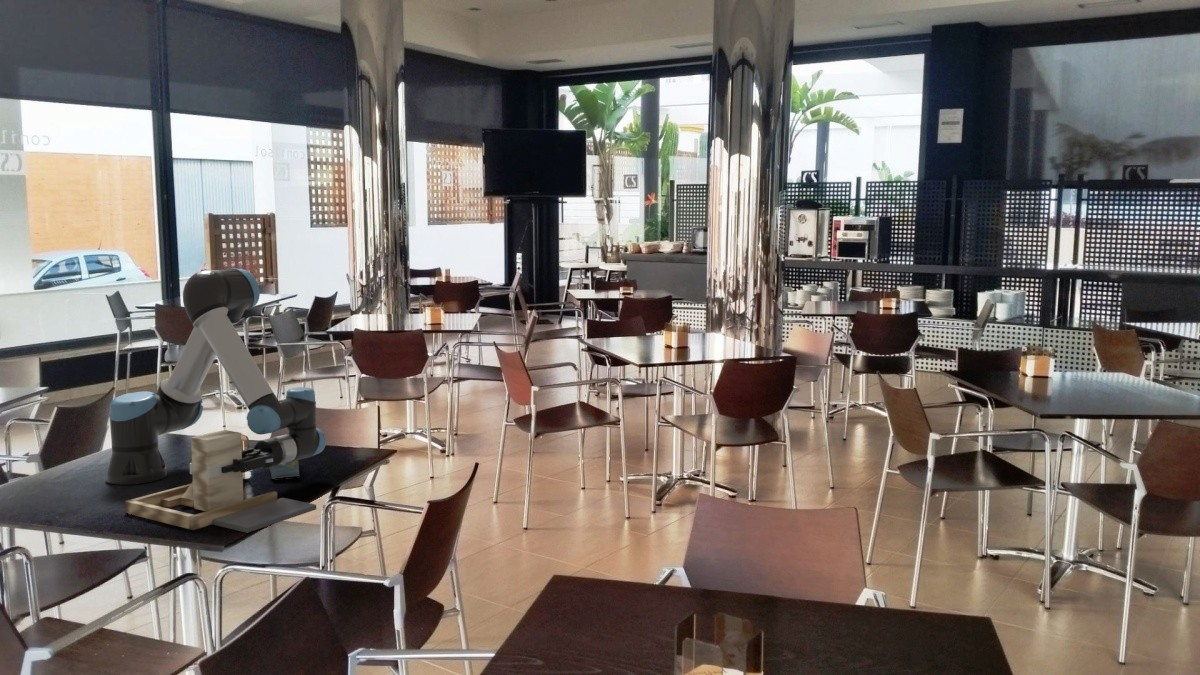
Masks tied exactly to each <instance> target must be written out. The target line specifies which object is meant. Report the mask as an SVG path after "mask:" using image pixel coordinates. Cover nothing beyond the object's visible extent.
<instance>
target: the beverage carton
mask: <svg viewBox="0 0 1200 675" xmlns="http://www.w3.org/2000/svg"><path fill="white" fill-rule="evenodd" d="M299 461H300V459H299V460H295V461H291V462H287V463H285V465H282V464H280V465H277V466H273V467H270V468H269V472H270V475H271V476H270V477H271V479H275V478H283V477H293V476H299V477H300V462H299ZM275 480H276V479H275Z"/></svg>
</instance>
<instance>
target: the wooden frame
mask: <svg viewBox="0 0 1200 675" xmlns="http://www.w3.org/2000/svg"><path fill="white" fill-rule="evenodd" d="M190 485H191V483H188V484H184V485H180V486H177V487H174V488H170V489H165V490H163V491H158V492H155V493H151V494H147V495H143V496H139V497H136V498H132V499H128V500H124V508H125V514H127V513H128V515H131V514H132V515H133V516H136V517H139V518H143V519H144V518H145V519H147V520H152V521H154V522H155V521H156V522H161V523H163V524H167V525H171V526H177V527H179V528H180V527H181V528H184V529H187V530H192V531H195V530H199V529H202V528H205V527H207V526H211V525H213V519H216V518H219V517H222V516H225V515H229V514H232V513H235V512H238V511H241V510H245V509H248V508H251V507H254V506H257V505H261V504H264V503H267V502H270V501H274V500H277V499H278V491H275V490H273V491H270V492H265V493H263V494H259V495H256V496H251V497H250V498H246V499H243V500H242V501H239V502H235V503H232V504H229V505H226V506H222V507H219V508H216V509H212V510H209V511H202V512H200V513H195V514H193V513H188V512H183V511H179V510H175V509H171V508H169V507H164V506H161V505H160V499H161V498H165V497H169V496H172V495H176V494H180V493H183V492H186V490H187V489H188V488H189V486H190Z"/></svg>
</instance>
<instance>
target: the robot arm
mask: <svg viewBox="0 0 1200 675" xmlns="http://www.w3.org/2000/svg"><path fill="white" fill-rule="evenodd" d="M260 296H261V290H260V286H259V283H258V280H257V278H256V277H255V275H254V274H252V273H251V272H250V271H248V270H246V269H244V268H234V267H231V268H227V269H205V270H200V271H198V272H195V273H194V274H192V275H191V276H190V277H189V278H188V279H187V281H186V283H185V284H184V287H183V290H182V302H183V307H184V310H185V313H186V315H187V317H188V319H189V320H190V323H191V325H192V326H193V329H192V330H191V333H190V334H189V337H188V339H187V341H186V344H185V345H184V347H183V350H182V351H181V353H180V356H179V358H178V359H177V362H176V364H175V366H174V368H173V370H172V372H171V374H170V377H168V378H165V379H163V380H162V381H161V382H160V384H159V386H158V388H157V390H156V392H155V393H154V392H151V391H149V390H148V391H146V390H143V391H134V392H129V393H128V392H127V393H125V394H122V395H119V396H116V397H115V398H113V399H112V400H111V402H110V404H109V415H108V418H109V426H110V427H109V428H110V439H111V440H110V441H111V456H110V459H109V462H108V466H107V470H106V472H105V475H106V476H105V477H106V482H107V483H108V484H113V485H119V486H121V485H123V486H125V485H126V486H127V485H141V484H147V483H151V482H152V483H153V482H155V481H159V480H161V479H163V478H165V477H167V475H168V474H167V473H168V472H167V465H166V462H165V461H164V459H163V458H164V457H163V456H162V453H161V452H160V448H159V436H161V435H165V434H168V433H173V432H178V431H181V430H185V429H187V428H189V427H191V426H193V425H194V424H196V423H197V422H198V421H199V420H200V418H201V417H202V414H203V411H204V405H202V404H203V399H202V396H203V394H202V393H201V392H202V391H201V390H200V389H201V387H202V384H203V383H204V381H205V379H206V377H207V375H208V373H209V371H210V369H211V367H212V365H213V363H214V361H215V359H216V358H217V359H218V362H220V364H221V366H222V367H223V369H224V371H225V372H226V375H227V376H228V377H229V379H230V380H231V382H232V384H233V386H234V388H235V389H236V390H237V393H239V396H240V397H241V400H242V401H243V402H244V403H245V406H246V407H247V409H248V410H249V411H248V412H247V415H246V420H247V424H246V425H247V427H248V428H249V430H250V431H251V432H252V433H253V434H256V435H267V434H268V435H269V434H273V433H275V432H277V431H280V430H283V429H286V428H287V433H286V434H282V435H277V436H273V437H270V438H266V439H261V440H259V441H258V442H257V443H256V444H255V446H254V448H253V447H251V448H246V449H243V450H242V459H240V460H238V459H233V464H232V462H230V461H229V462H225V463H222V464H218V465H214V466H210V467H208V478H213V477H217V476H220V475H224V474H228V473H232V471H233V472H238V471H240V472H241V473H242V474H244V473H248V472H250V471H253V470H257V469H260V468H263V469H270V467H273V466H277V465H280V464H282V465H285V463H287V462H291V461H295V460H299V461H300V460H303V459H307V458H311V457H314V456H316V455H318V454H320V453H322V452H323V451H324V449H326V448H325V447H326V443H327V440H326V437H325V436H324V435H325V433H324V432H323V431H322V429H320V428H319V427H317V412H316V411H317V401H316V392H315V390H314V389H313V388H311V387H305V386H302V387H301V386H300V387H299V386H298V387H297V386H296V387H292V388H288V390H287V391H286V395H285V398H284V399H281V400H279V399H278V396H276V394H275V392H274V391H273V389H272V388H271V385H269V383H268V381H267V380H266V378H265V376H264V374H263V373H262V371H261V369H260V368H259V366H258V364H257V362H256V361H255V359H254V357H253V356H252V354H251V353H250V351H249V350H248V348H247V346H246V344H245V343H244V341H243V339H242V338H241V336H240V335H239V333H238V331H237V330H236V328H235V326H234V325H236V324H239V323H240V321H241V319H242V317H243V315H244V312H245V311H246V310H247V311H248V310H251V309H252V308H254V307H255V306H256V305H257V304H258V302H259V301H260ZM189 474H190V475H193V473H192V462H190V463H189Z"/></svg>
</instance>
